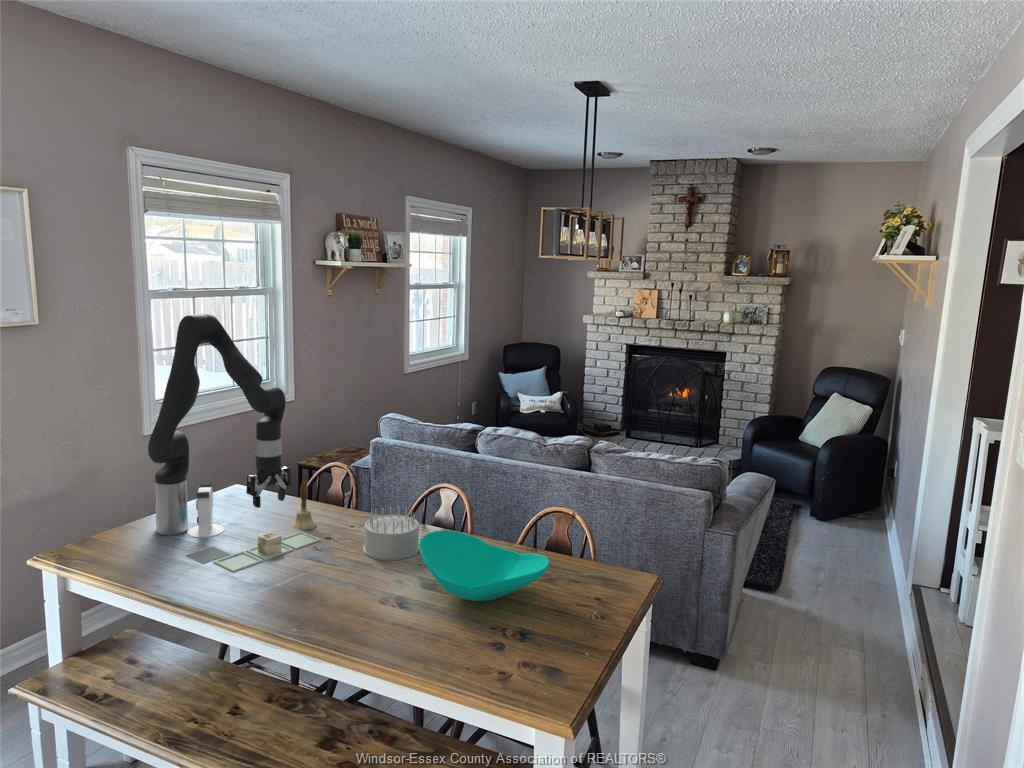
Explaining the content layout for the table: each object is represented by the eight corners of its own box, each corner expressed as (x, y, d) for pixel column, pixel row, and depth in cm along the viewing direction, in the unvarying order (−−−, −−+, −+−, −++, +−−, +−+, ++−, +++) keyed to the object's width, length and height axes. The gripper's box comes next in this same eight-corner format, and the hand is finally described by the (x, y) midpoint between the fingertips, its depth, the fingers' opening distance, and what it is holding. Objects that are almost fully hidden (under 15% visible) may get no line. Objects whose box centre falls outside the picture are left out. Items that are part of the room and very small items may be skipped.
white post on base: (189, 525, 239) (188, 482, 237) (225, 523, 243) (225, 481, 240) (185, 539, 228) (183, 494, 225) (222, 536, 231) (221, 492, 229)
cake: (410, 563, 218) (411, 522, 216) (354, 557, 220) (354, 516, 218) (426, 541, 235) (427, 503, 233) (374, 536, 238) (375, 498, 236)
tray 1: (213, 564, 211) (213, 560, 210) (243, 553, 219) (243, 550, 219) (233, 573, 205) (233, 570, 205) (263, 562, 213) (263, 559, 213)
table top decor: (394, 593, 198) (395, 549, 195) (451, 560, 221) (453, 520, 219) (516, 636, 178) (519, 587, 176) (565, 595, 202) (568, 551, 199)
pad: (185, 557, 214) (185, 555, 214) (213, 548, 222) (213, 546, 222) (202, 565, 209) (202, 563, 209) (230, 556, 217) (230, 554, 217)
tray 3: (276, 542, 228) (276, 539, 228) (301, 534, 236) (301, 531, 236) (295, 551, 223) (295, 548, 223) (321, 541, 231) (321, 538, 231)
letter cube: (257, 551, 220) (257, 535, 219) (271, 546, 224) (271, 531, 223) (267, 555, 217) (267, 539, 216) (281, 550, 221) (281, 535, 220)
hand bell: (289, 523, 245) (289, 479, 243) (314, 521, 249) (314, 477, 246) (293, 532, 238) (292, 486, 235) (318, 529, 241) (318, 484, 239)
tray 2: (246, 553, 219) (246, 549, 219) (273, 543, 228) (273, 540, 227) (265, 561, 214) (265, 558, 214) (293, 552, 222) (293, 548, 222)
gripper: (280, 446, 223) (281, 495, 226) (240, 454, 212) (241, 506, 214) (296, 450, 219) (296, 500, 222) (255, 459, 207) (256, 512, 210)
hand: (269, 503), depth 218 cm, fingers open, 8 cm apart
